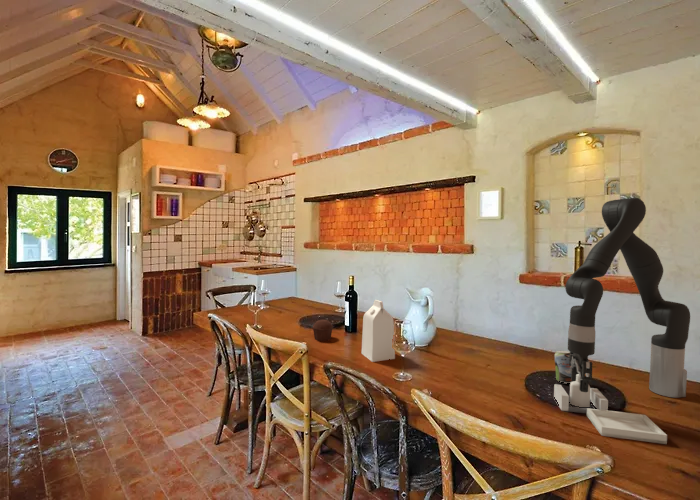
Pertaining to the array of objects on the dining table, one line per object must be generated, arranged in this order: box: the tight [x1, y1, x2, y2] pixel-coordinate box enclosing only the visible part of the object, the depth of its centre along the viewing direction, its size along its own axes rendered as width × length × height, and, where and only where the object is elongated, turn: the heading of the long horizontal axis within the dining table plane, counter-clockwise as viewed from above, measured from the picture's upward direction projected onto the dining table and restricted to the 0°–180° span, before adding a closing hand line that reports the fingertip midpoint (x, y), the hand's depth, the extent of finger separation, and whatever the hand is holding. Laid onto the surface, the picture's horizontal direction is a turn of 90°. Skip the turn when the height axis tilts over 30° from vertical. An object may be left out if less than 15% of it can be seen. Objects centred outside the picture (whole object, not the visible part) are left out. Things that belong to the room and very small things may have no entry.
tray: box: [586, 407, 668, 445], centre depth 107 cm, size 16×12×2 cm
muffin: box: [312, 319, 334, 342], centre depth 197 cm, size 12×11×10 cm
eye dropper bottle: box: [569, 374, 591, 408], centre depth 121 cm, size 4×6×12 cm
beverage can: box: [554, 350, 573, 384], centre depth 141 cm, size 6×7×12 cm
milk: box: [361, 299, 396, 363], centre depth 169 cm, size 12×12×26 cm
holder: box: [553, 383, 609, 414], centre depth 121 cm, size 13×9×5 cm
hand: (579, 386), depth 121 cm, fingers open, 8 cm apart
